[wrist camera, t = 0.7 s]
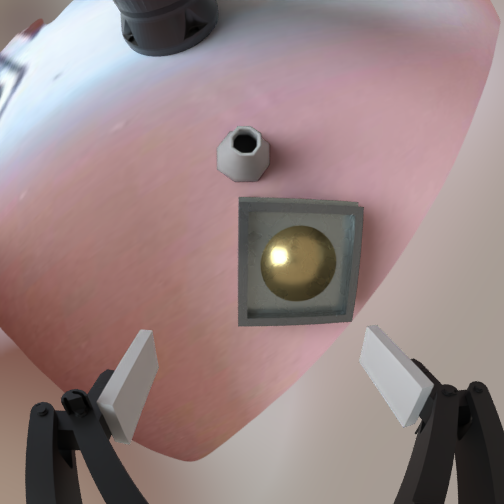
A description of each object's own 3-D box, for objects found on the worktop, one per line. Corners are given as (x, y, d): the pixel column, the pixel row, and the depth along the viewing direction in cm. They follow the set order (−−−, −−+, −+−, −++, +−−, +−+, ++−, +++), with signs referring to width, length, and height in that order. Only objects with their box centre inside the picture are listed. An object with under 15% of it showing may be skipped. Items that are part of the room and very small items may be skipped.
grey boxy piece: (238, 197, 35) (239, 197, 28) (340, 201, 36) (363, 202, 29) (237, 305, 38) (238, 330, 31) (332, 303, 39) (351, 325, 31)
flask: (277, 139, 34) (292, 119, 24) (261, 190, 35) (270, 187, 25) (225, 124, 33) (221, 98, 23) (208, 174, 34) (197, 165, 25)
